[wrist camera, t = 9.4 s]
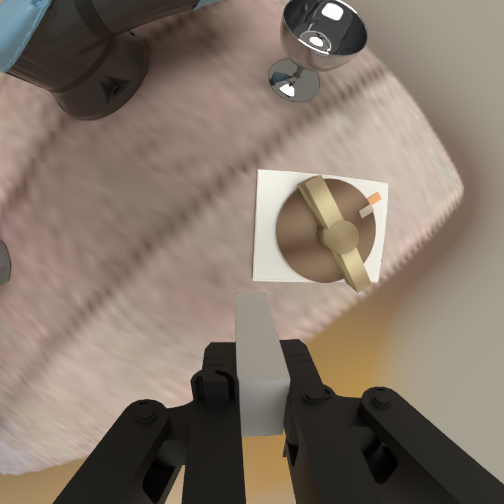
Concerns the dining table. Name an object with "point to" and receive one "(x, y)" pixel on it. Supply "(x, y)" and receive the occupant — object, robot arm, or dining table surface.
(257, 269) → the base plate
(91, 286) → the dining table surface
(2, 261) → the coffeepot
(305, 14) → the wine glass
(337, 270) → the capstan dial
